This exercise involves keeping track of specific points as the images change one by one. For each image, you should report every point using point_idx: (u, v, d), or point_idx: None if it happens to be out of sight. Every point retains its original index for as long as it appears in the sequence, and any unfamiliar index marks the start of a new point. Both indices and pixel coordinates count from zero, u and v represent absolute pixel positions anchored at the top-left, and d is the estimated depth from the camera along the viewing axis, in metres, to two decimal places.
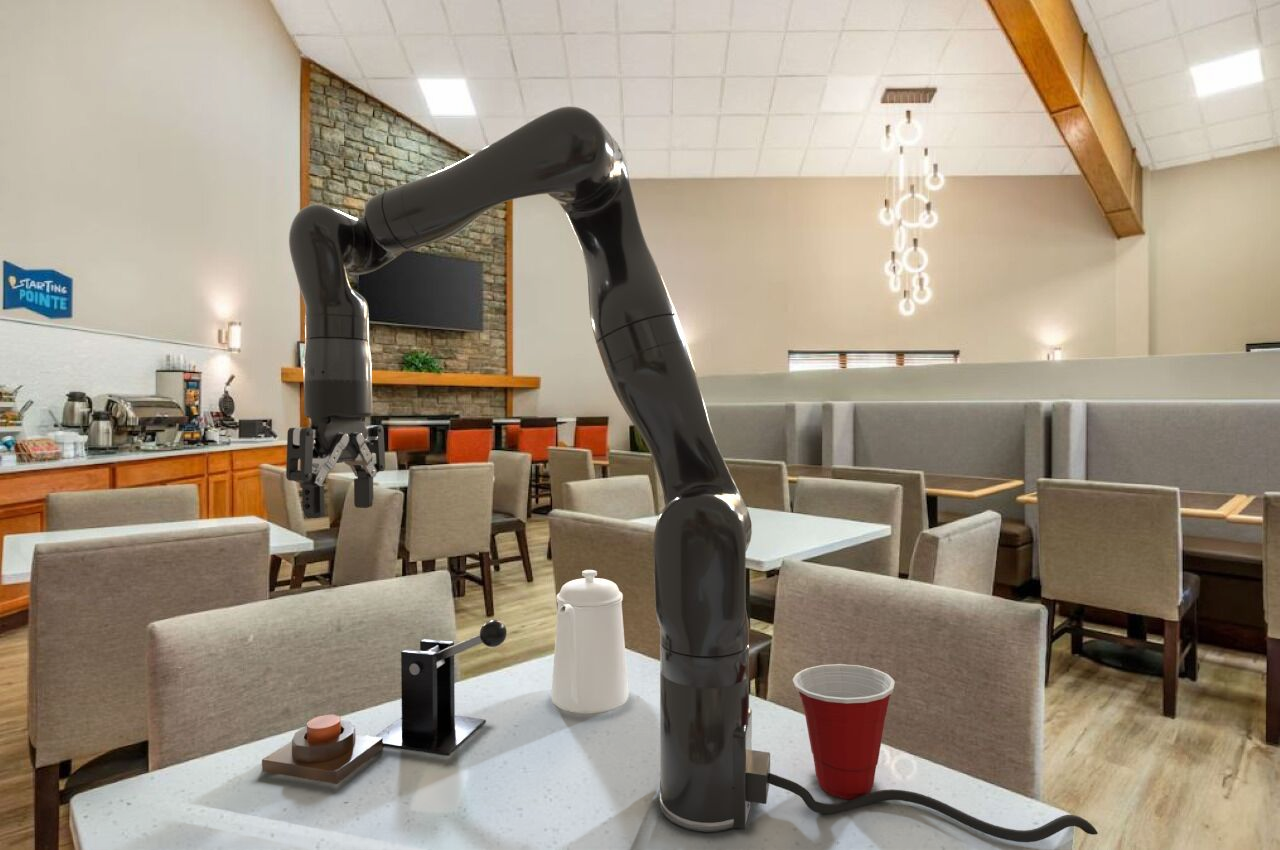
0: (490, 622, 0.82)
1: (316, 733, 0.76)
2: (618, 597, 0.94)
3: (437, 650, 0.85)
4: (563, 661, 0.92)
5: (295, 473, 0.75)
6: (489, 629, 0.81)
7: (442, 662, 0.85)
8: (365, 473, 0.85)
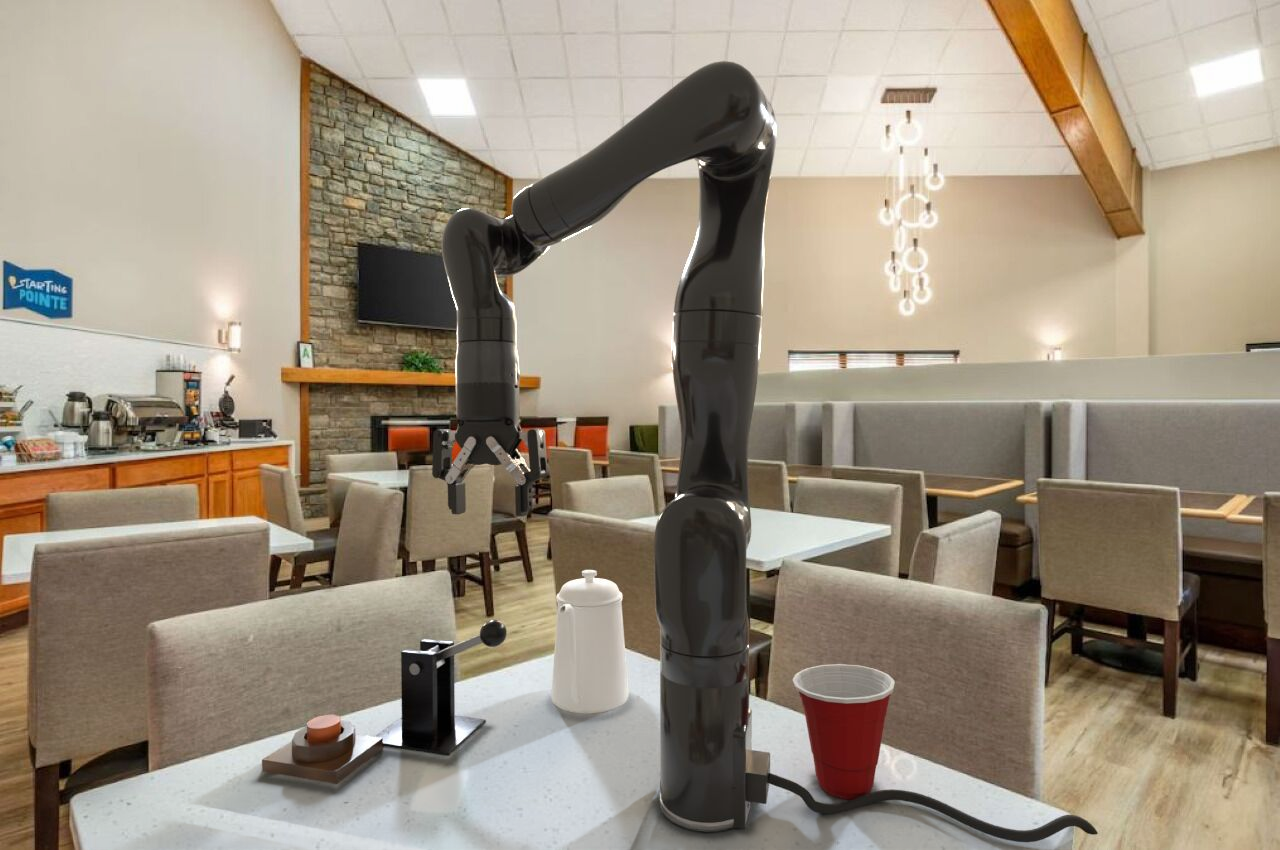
0: (490, 622, 0.82)
1: (316, 733, 0.76)
2: (618, 597, 0.94)
3: (437, 650, 0.85)
4: (563, 661, 0.92)
5: None
6: (489, 629, 0.81)
7: (442, 662, 0.85)
8: None
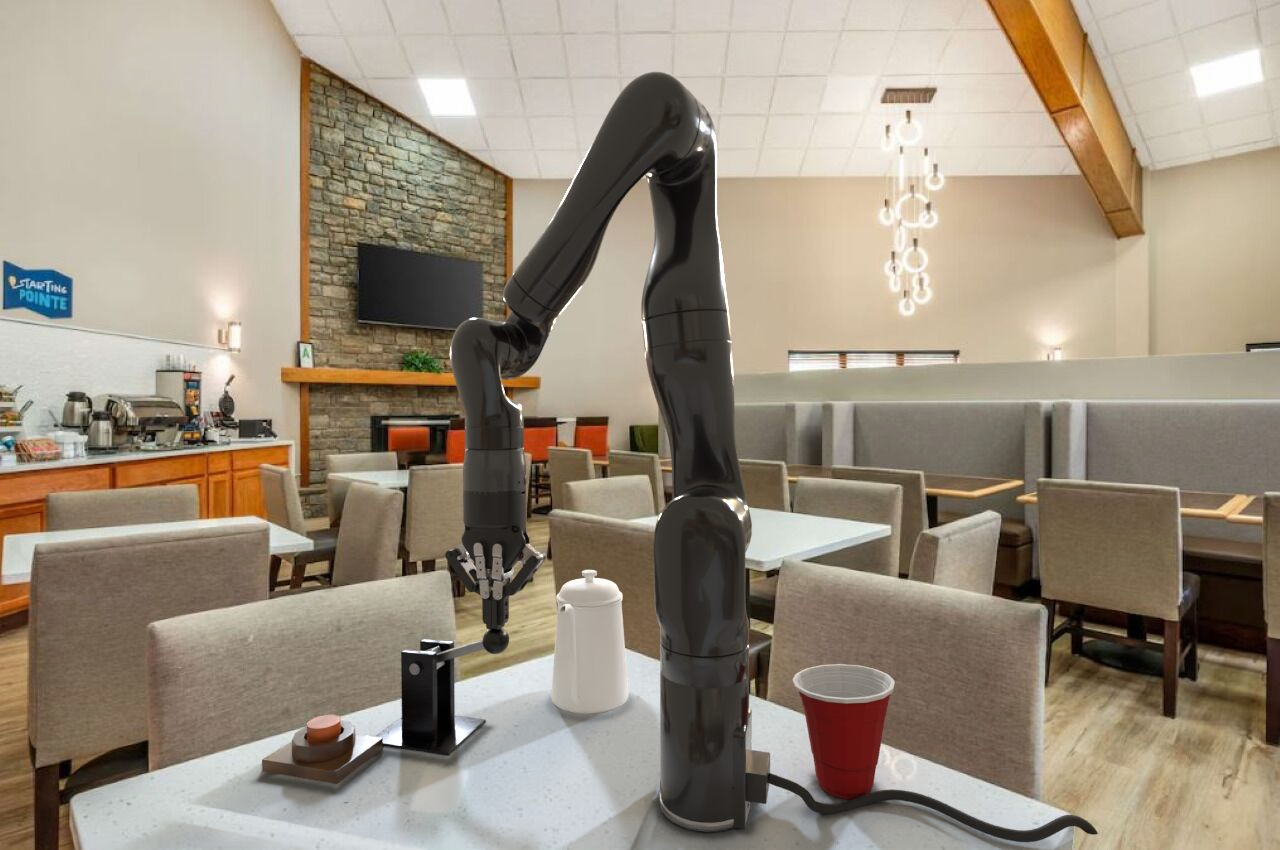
0: (493, 629, 0.81)
1: (316, 733, 0.76)
2: (618, 597, 0.94)
3: (438, 651, 0.85)
4: (563, 661, 0.92)
5: None
6: (492, 636, 0.81)
7: (442, 663, 0.85)
8: None
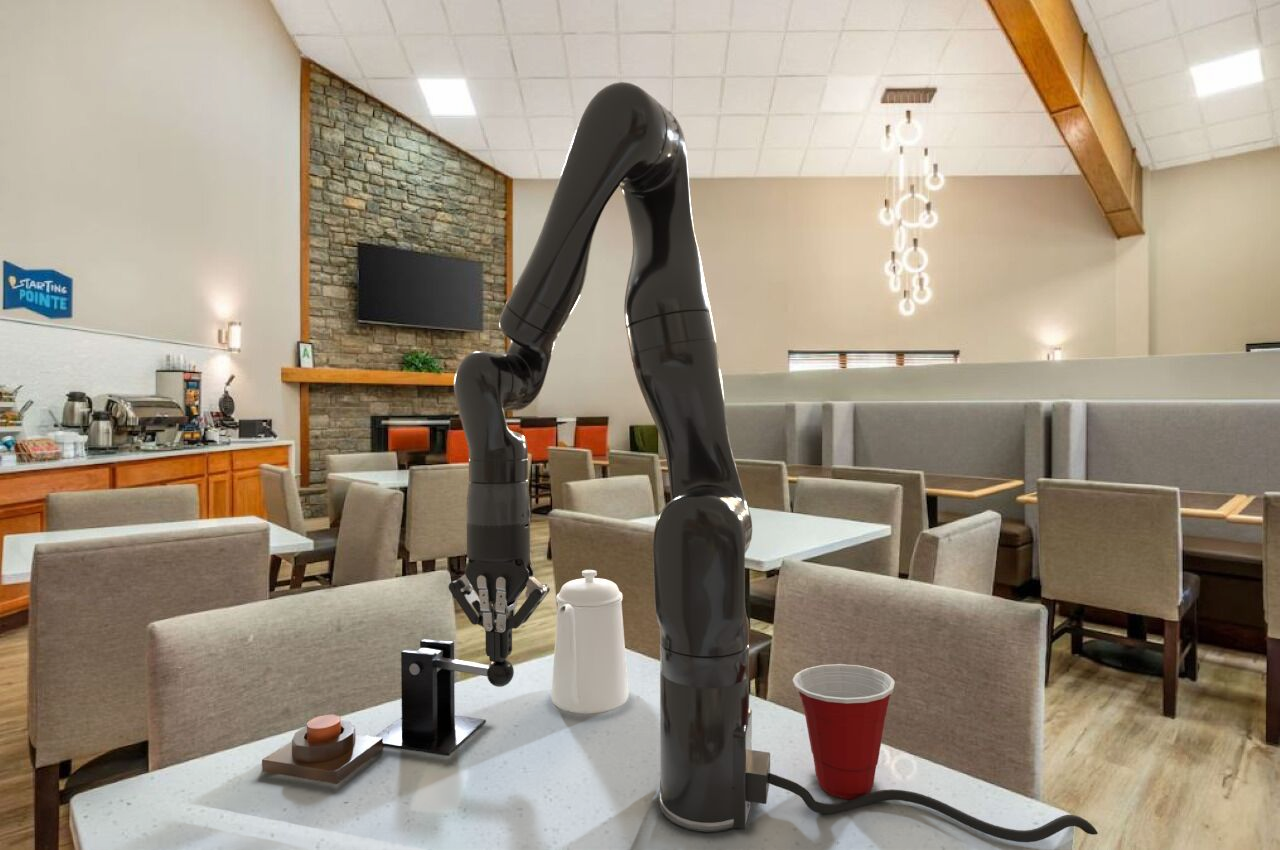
0: (502, 664, 0.81)
1: (316, 733, 0.76)
2: (618, 597, 0.94)
3: (440, 655, 0.85)
4: (563, 661, 0.92)
5: None
6: (499, 670, 0.81)
7: (440, 668, 0.85)
8: None
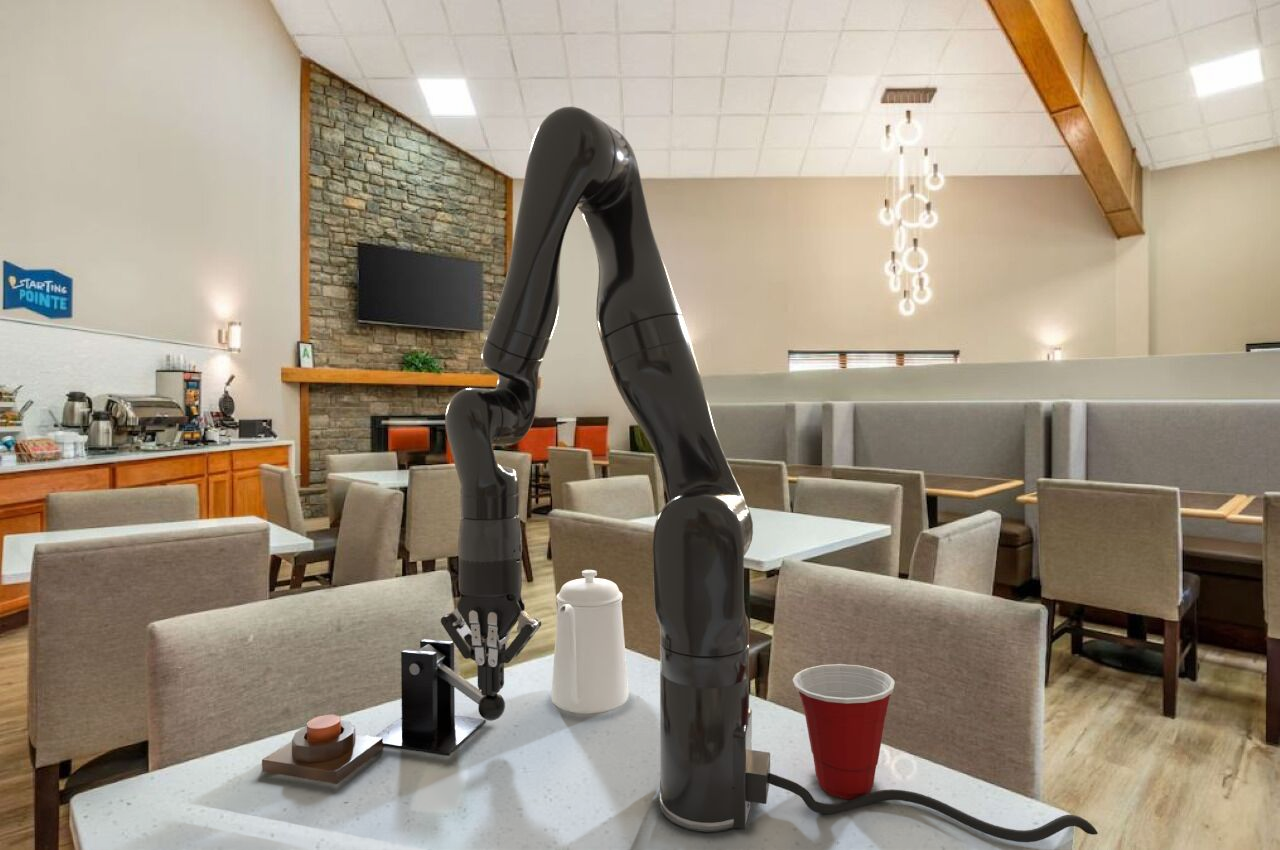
0: (497, 701, 0.81)
1: (316, 733, 0.76)
2: (618, 597, 0.94)
3: (441, 661, 0.85)
4: (563, 661, 0.92)
5: None
6: (493, 707, 0.81)
7: None
8: None
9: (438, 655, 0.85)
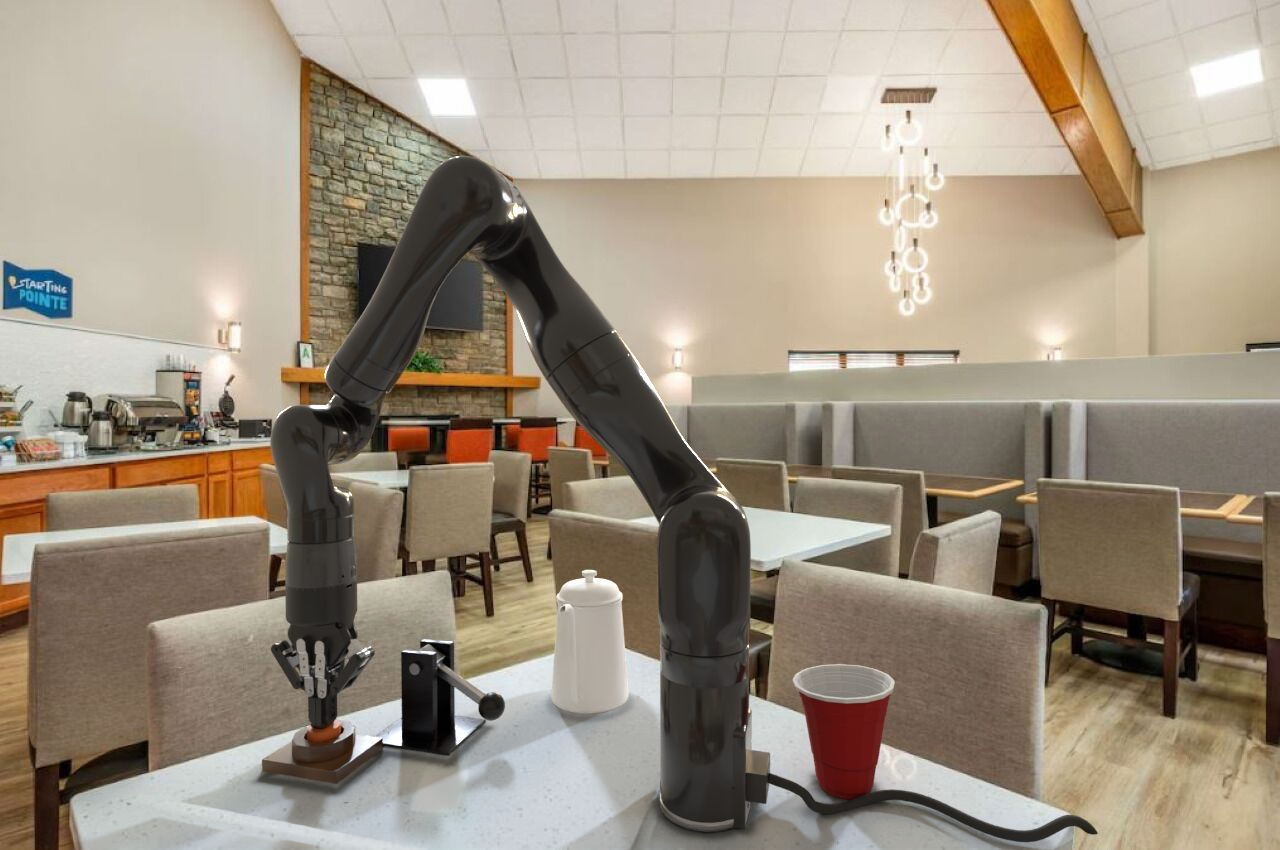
0: (497, 701, 0.81)
1: (316, 737, 0.76)
2: (618, 597, 0.94)
3: (441, 661, 0.85)
4: (563, 661, 0.92)
5: None
6: (493, 707, 0.81)
7: None
8: None
9: (438, 655, 0.85)
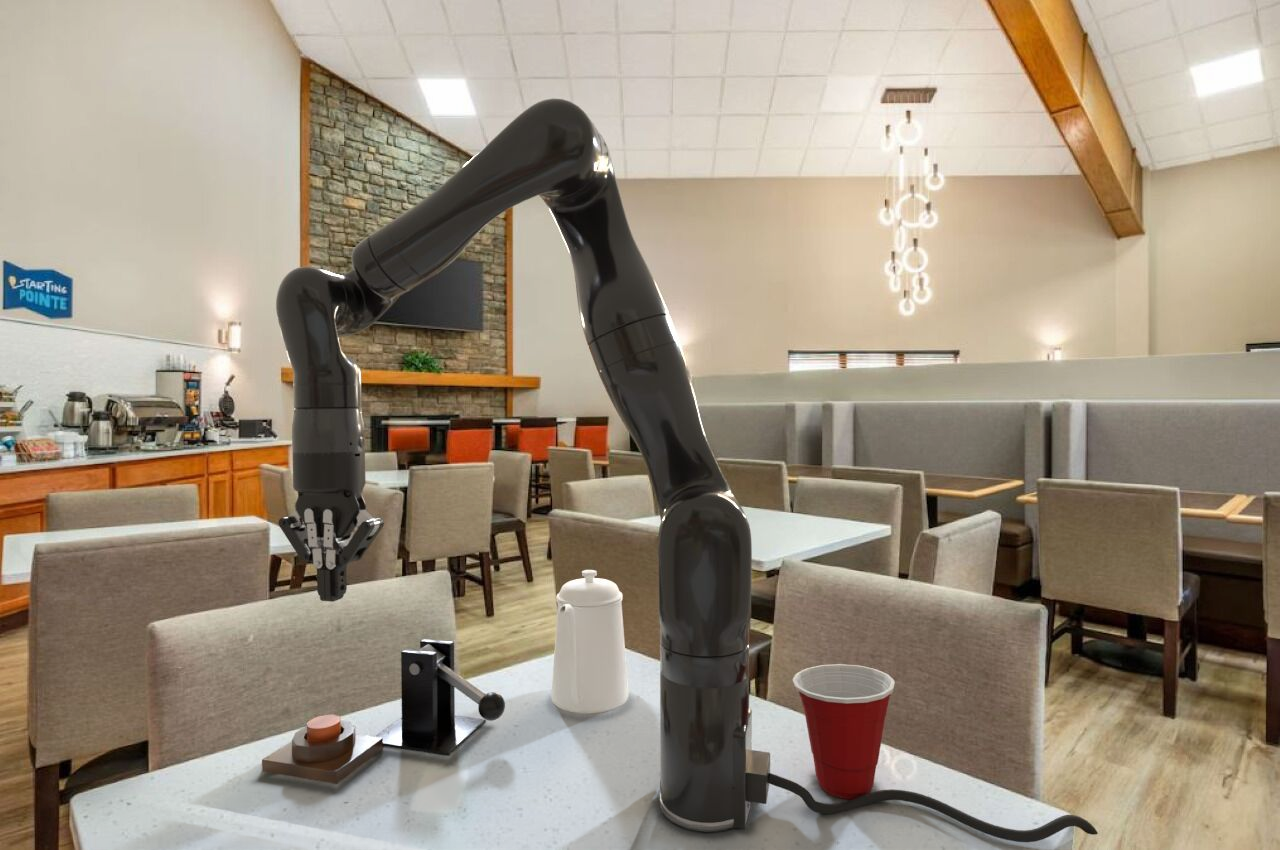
0: (497, 701, 0.81)
1: (316, 733, 0.76)
2: (618, 597, 0.94)
3: (441, 661, 0.85)
4: (563, 661, 0.92)
5: None
6: (493, 707, 0.81)
7: None
8: None
9: (438, 655, 0.85)
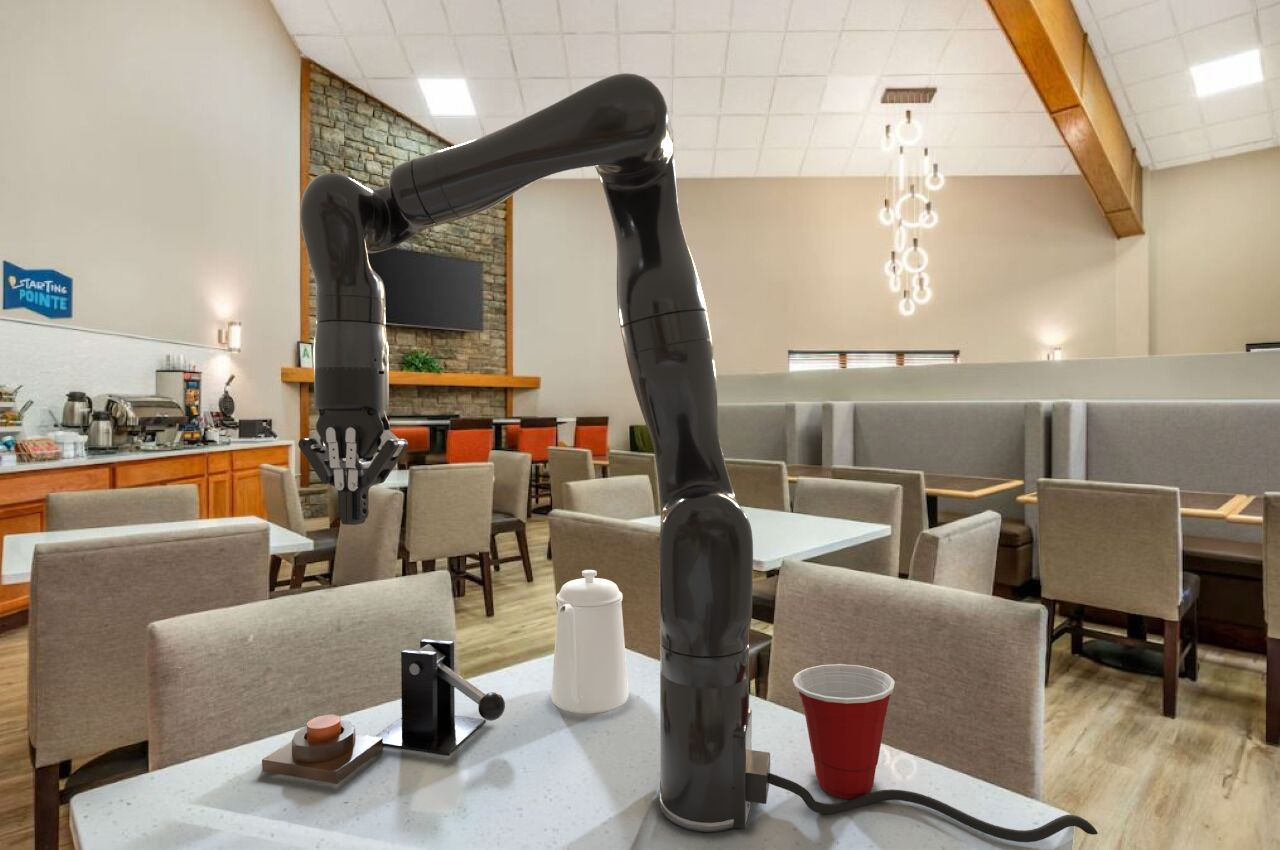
0: (497, 701, 0.81)
1: (316, 733, 0.76)
2: (618, 597, 0.94)
3: (441, 661, 0.85)
4: (563, 661, 0.92)
5: None
6: (493, 707, 0.81)
7: None
8: None
9: (438, 655, 0.85)
